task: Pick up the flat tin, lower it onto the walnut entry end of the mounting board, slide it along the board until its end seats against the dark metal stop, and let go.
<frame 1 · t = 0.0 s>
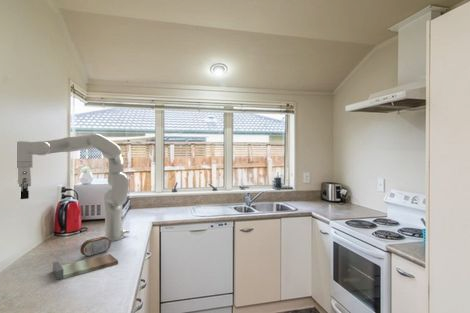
hand: (23, 197, 138), 31 cm above the worktop, tool pointing down, fingers open, 9 cm apart
tin: (96, 254, 143), on the worktop
mounting board: (88, 266, 127), on the worktop
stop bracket: (57, 274, 118), on the worktop
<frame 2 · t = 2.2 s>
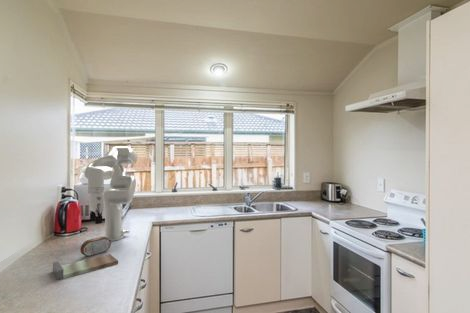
hand: (95, 221, 143), 17 cm above the worktop, tool pointing down, fingers open, 9 cm apart
nothing on the worktop moved.
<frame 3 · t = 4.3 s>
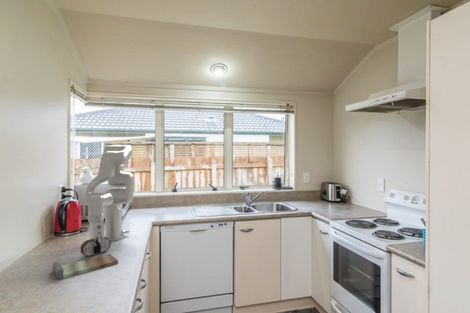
hand: (96, 251, 143), 1 cm above the worktop, tool pointing down, fingers closed on tin, 3 cm apart
tin: (96, 254, 143), on the worktop, touching gripper
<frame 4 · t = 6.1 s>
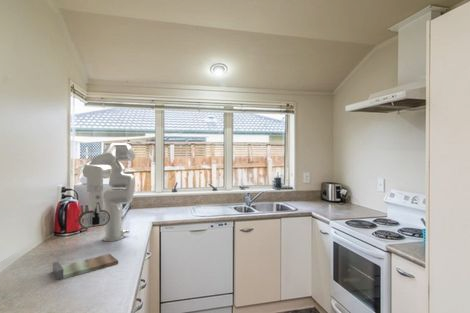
hand: (94, 223, 138), 18 cm above the worktop, tool pointing down, fingers closed on tin, 2 cm apart
tin: (94, 227, 138), point 16 cm above the worktop, touching gripper
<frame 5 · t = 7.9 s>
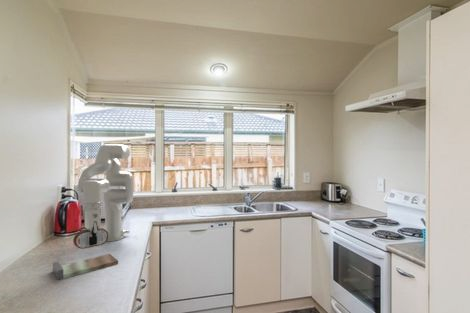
hand: (92, 243, 128), 11 cm above the worktop, tool pointing down, fingers closed on tin, 2 cm apart
tin: (91, 247, 127), point 9 cm above the worktop, touching gripper
when the fingers open (3 cm above the worktop, at t = 10.6 s): tin stays where it is, resting on mounting board.
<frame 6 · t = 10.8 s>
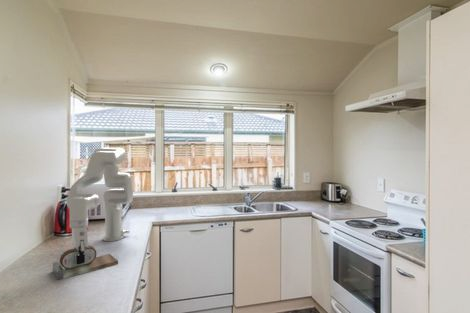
hand: (79, 261, 124), 4 cm above the worktop, tool pointing down, fingers open, 4 cm apart
tin: (79, 266, 124), point 1 cm above the worktop, touching mounting board
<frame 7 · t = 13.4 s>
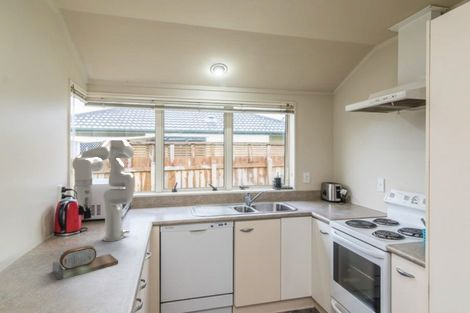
hand: (84, 216, 134), 22 cm above the worktop, tool pointing down, fingers open, 9 cm apart
nothing on the worktop moved.
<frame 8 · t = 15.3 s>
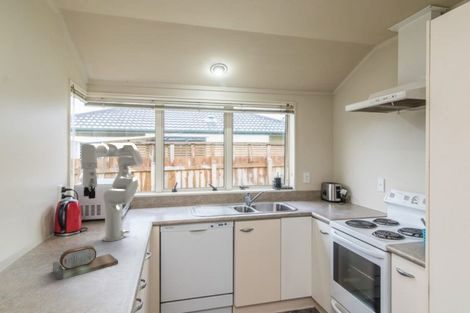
hand: (89, 197, 145), 30 cm above the worktop, tool pointing down, fingers open, 9 cm apart
nothing on the worktop moved.
at the end: tin 0.7 cm from the target spot, point 1.3 cm above the worktop; tin tilted 0°; the gripper is holding nothing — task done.
